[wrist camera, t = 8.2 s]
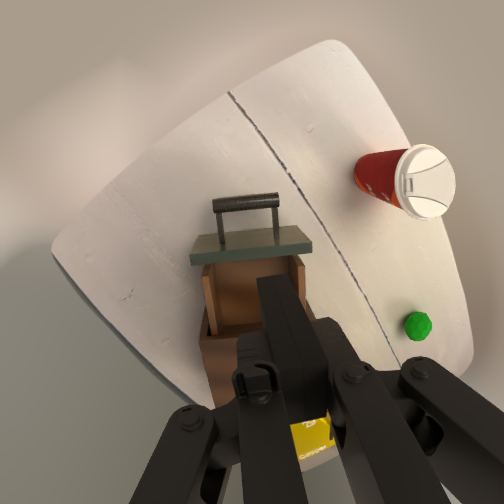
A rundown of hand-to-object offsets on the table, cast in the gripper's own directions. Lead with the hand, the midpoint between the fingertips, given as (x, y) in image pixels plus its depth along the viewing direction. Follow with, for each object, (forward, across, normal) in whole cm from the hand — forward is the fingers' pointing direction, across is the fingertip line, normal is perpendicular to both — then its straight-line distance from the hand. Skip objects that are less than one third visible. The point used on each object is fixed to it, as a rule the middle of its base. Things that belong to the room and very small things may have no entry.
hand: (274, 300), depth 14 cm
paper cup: (+24, +18, +3) cm, 30 cm away
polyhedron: (+24, +26, -22) cm, 41 cm away
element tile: (+24, +3, -44) cm, 50 cm away
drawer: (+23, 0, -7) cm, 24 cm away
